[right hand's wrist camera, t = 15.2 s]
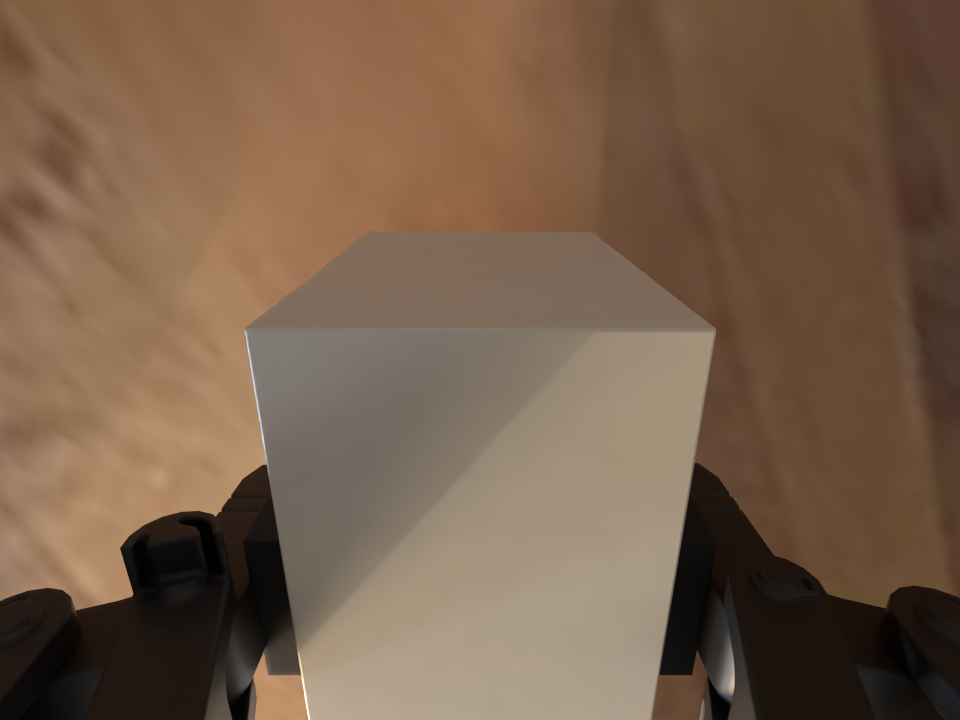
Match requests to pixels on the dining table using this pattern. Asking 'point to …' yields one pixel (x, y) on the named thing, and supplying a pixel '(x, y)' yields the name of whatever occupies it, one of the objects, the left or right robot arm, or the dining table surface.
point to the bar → (480, 474)
